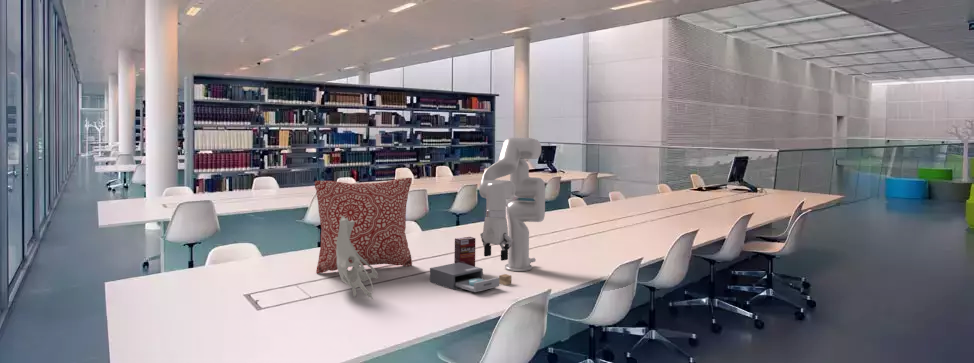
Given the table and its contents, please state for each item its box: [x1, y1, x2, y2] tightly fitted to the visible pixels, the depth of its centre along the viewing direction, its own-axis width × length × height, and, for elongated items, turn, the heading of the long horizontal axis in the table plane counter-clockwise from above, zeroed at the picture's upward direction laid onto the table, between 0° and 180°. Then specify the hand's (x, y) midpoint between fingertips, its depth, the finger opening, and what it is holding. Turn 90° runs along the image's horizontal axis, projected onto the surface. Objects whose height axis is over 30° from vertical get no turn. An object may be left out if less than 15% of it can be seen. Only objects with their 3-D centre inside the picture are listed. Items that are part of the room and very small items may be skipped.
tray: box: [455, 277, 500, 293], centre depth 236 cm, size 13×15×4 cm
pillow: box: [314, 177, 413, 274], centre depth 265 cm, size 44×16×42 cm, turn 112°
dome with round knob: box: [469, 278, 484, 286], centre depth 236 cm, size 6×6×2 cm
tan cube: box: [498, 273, 512, 286], centre depth 243 cm, size 4×4×4 cm
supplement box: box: [453, 236, 476, 267], centre depth 260 cm, size 9×5×16 cm, turn 126°
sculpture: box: [336, 216, 379, 300], centre depth 230 cm, size 32×18×30 cm, turn 15°
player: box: [429, 262, 484, 291], centre depth 245 cm, size 16×16×6 cm
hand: (495, 257), depth 226 cm, fingers open, 9 cm apart
